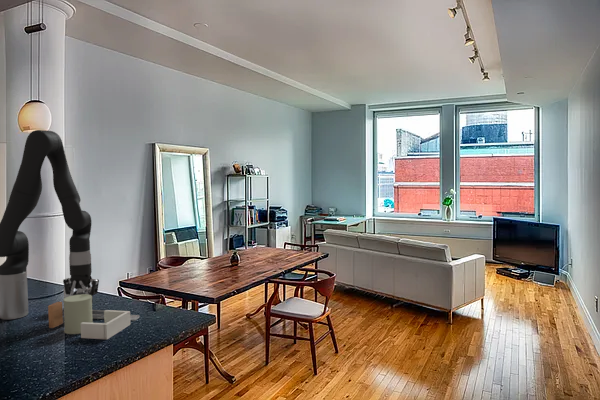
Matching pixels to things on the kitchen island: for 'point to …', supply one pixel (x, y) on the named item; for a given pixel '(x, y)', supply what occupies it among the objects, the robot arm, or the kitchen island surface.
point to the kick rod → (57, 313)
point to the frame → (106, 325)
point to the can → (77, 312)
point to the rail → (98, 316)
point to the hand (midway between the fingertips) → (81, 305)
